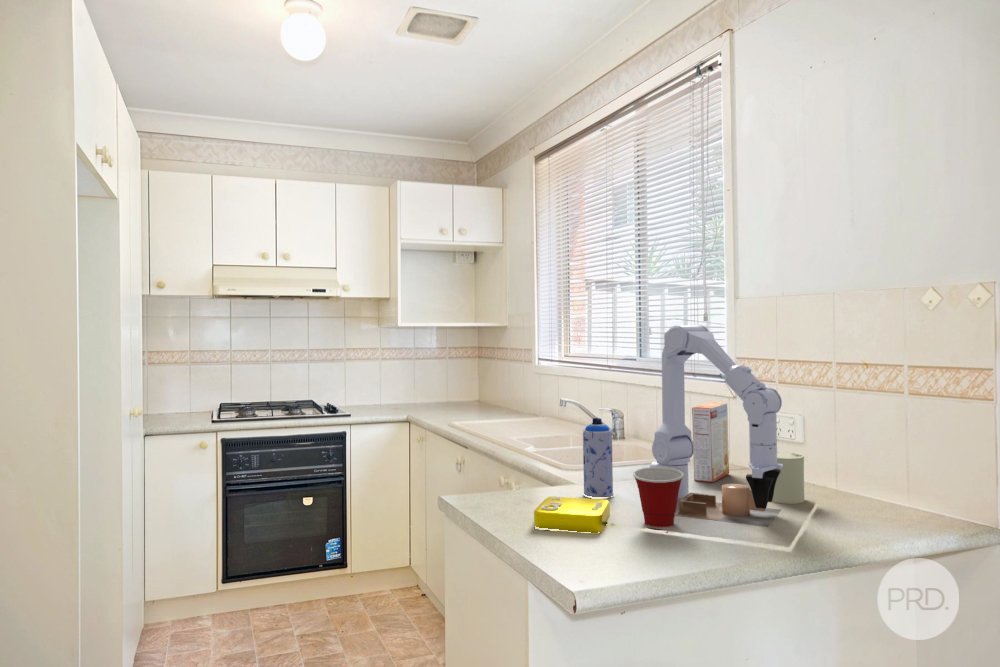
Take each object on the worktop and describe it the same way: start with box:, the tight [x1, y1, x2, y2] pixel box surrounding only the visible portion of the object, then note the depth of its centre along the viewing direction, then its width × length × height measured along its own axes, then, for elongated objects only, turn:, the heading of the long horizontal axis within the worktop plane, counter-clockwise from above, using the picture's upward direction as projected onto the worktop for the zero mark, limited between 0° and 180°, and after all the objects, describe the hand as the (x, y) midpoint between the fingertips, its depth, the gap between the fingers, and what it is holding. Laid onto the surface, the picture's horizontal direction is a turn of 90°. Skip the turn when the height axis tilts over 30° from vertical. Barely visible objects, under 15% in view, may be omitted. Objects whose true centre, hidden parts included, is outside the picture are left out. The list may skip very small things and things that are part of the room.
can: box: [771, 451, 806, 505], centre depth 173 cm, size 9×9×12 cm
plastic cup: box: [632, 466, 684, 531], centre depth 153 cm, size 11×11×12 cm
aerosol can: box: [582, 417, 614, 497], centre depth 183 cm, size 8×8×20 cm
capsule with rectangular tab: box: [721, 483, 766, 517], centre depth 160 cm, size 6×9×6 cm, turn 59°
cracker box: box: [691, 401, 730, 483], centre depth 203 cm, size 14×6×21 cm, turn 144°
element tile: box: [533, 496, 611, 533], centre depth 158 cm, size 15×15×5 cm
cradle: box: [675, 492, 782, 528], centre depth 161 cm, size 16×20×3 cm
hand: (764, 504), depth 157 cm, fingers open, 6 cm apart
